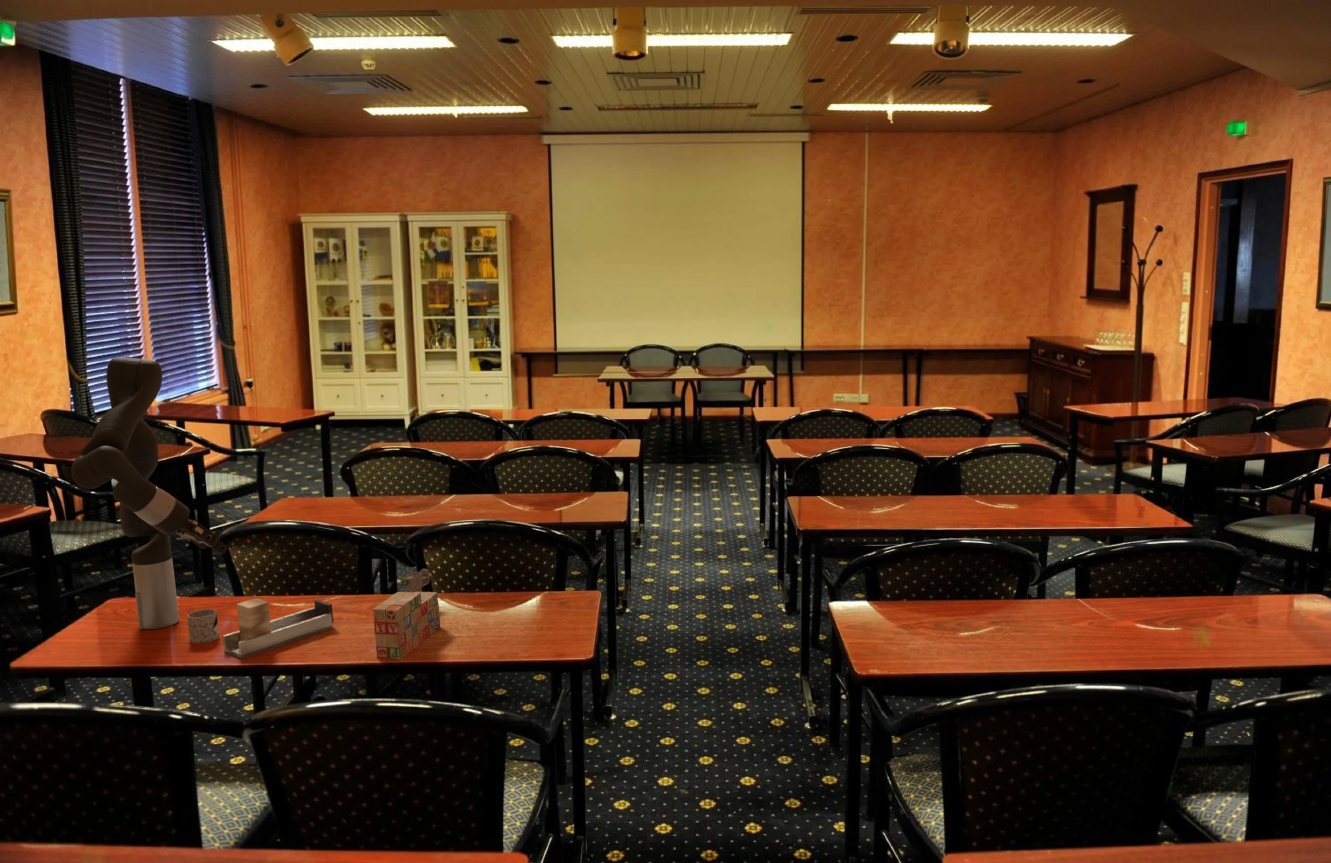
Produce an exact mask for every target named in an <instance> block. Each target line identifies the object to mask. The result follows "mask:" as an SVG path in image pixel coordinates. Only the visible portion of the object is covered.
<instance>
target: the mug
mask: <svg viewBox="0 0 1331 863" xmlns="http://www.w3.org/2000/svg"><path fill="white" fill-rule="evenodd" d="M186 616H187V626H188V627H187V628H188V636H189V642H190V643H191V644H196V645H198V644H199V645H201V644H202V645H203V644H208V643H212V642H214V641H217V640H218V639H219V638H220V630H219V621H218V611H217V610H216V609H214V608H205V609H197V610H195V611H192V612H190V613H189V612H188V613H187V615H186Z"/></svg>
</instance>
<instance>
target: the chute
mask: <svg viewBox="0 0 1331 863" xmlns="http://www.w3.org/2000/svg"><path fill="white" fill-rule="evenodd" d="M313 602H314V607H310V608H308V609H307V608H306V609H304V610H303V609H302V610H300V611H298V612H294V613H291V614H290V613H289V614H287V615H284V616H282V617H278V618H275V619H270V625H271V632H268V633H265V634H262V635H259V636H256V637H253V638H250V639H246V640H243V641H240V632H239V630H236V631H233V632H230V633H227V634H223V635H222V643H223V644H222V645H223V652H225V653H227V654H229V655H232V656H234V657H236V658H238V659H240V660H244V659H246V658H251V657H252V656H253V657H254V656H256V655H259V654H262V653H265V652H267V651H271V650H274V649H277V648H279V647H282V646H286V645H289V644H292V643H294V642H298V641H300V640H303V639H307V638H310V637H313V636H316V635H318V634H321V633H323V632H327V631H330V630H333V624H334V615H333V604H332V603H329V602H326V601H323V600H320V599H316V600H314V601H313Z"/></svg>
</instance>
